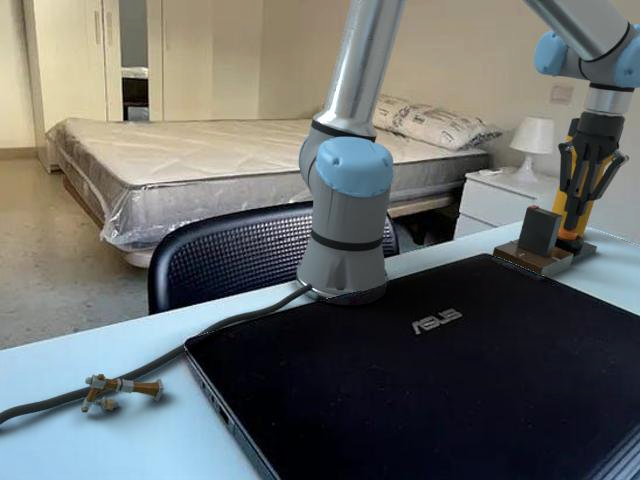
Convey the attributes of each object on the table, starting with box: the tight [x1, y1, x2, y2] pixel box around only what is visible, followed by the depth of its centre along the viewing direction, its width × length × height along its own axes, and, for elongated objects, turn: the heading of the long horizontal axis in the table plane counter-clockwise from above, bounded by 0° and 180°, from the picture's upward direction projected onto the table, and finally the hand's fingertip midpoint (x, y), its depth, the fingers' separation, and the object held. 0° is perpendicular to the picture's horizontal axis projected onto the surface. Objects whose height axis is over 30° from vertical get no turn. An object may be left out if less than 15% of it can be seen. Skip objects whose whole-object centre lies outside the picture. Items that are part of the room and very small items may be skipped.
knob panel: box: [492, 238, 574, 279], centre depth 97 cm, size 12×10×3 cm
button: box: [557, 227, 578, 240], centre depth 104 cm, size 4×4×2 cm
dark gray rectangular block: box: [517, 204, 563, 257], centre depth 95 cm, size 6×2×8 cm, turn 39°
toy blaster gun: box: [81, 373, 165, 414], centre depth 53 cm, size 2×8×4 cm, turn 118°
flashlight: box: [551, 117, 624, 238], centre depth 111 cm, size 10×26×10 cm
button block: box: [554, 234, 598, 266], centre depth 105 cm, size 11×9×4 cm
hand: (569, 228), depth 103 cm, fingers closed
